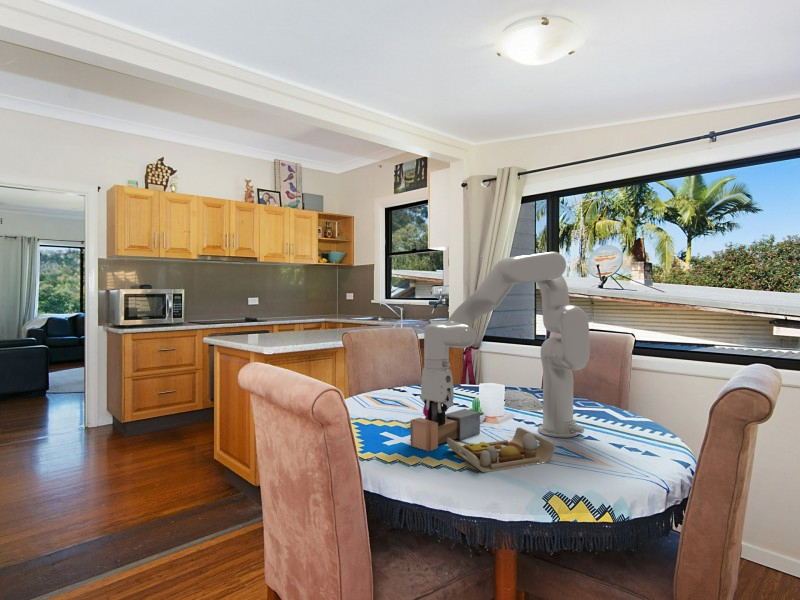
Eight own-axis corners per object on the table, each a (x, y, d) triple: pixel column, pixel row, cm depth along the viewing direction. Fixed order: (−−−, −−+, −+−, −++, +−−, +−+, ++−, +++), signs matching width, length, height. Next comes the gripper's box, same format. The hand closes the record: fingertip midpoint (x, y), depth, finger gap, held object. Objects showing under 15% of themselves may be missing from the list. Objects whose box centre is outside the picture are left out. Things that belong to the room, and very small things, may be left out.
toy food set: (518, 443, 148) (518, 418, 147) (556, 463, 131) (556, 435, 130) (444, 452, 139) (445, 427, 139) (475, 475, 122) (475, 446, 122)
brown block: (437, 448, 141) (437, 422, 141) (428, 451, 138) (428, 425, 138) (419, 442, 147) (419, 417, 147) (410, 445, 144) (410, 419, 144)
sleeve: (479, 433, 156) (479, 412, 156) (460, 440, 149) (460, 418, 149) (464, 429, 161) (464, 408, 160) (445, 435, 154) (445, 414, 154)
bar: (465, 435, 153) (465, 398, 152) (431, 447, 142) (431, 407, 142) (456, 432, 156) (456, 396, 156) (421, 443, 145) (421, 404, 145)
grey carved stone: (531, 412, 181) (531, 394, 182) (482, 403, 201) (483, 387, 202) (555, 410, 191) (555, 393, 191) (506, 402, 211) (506, 386, 211)
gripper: (464, 366, 142) (464, 426, 143) (425, 360, 154) (425, 416, 155) (448, 369, 137) (448, 431, 138) (409, 362, 149) (409, 420, 150)
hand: (436, 423), depth 146 cm, fingers closed on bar, 3 cm apart
